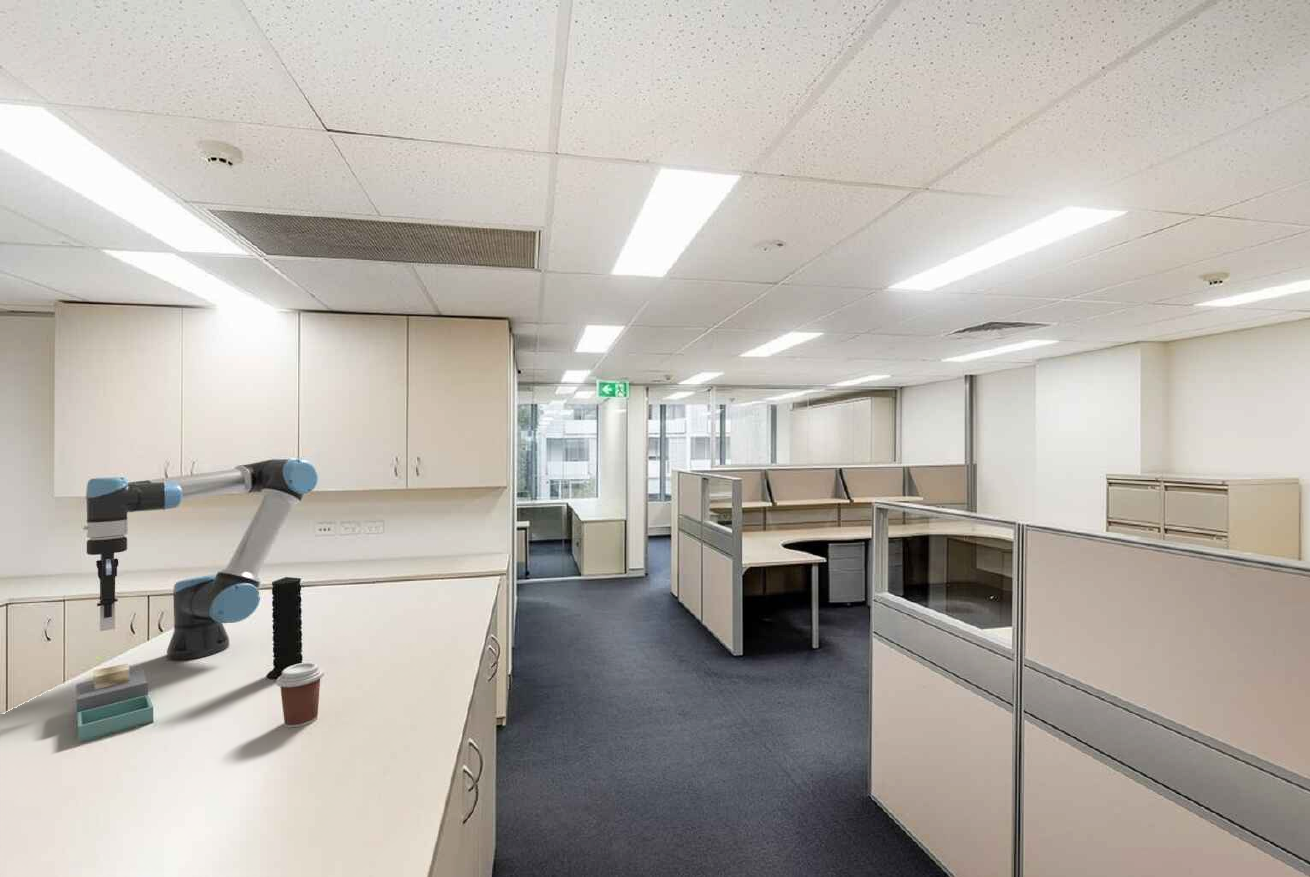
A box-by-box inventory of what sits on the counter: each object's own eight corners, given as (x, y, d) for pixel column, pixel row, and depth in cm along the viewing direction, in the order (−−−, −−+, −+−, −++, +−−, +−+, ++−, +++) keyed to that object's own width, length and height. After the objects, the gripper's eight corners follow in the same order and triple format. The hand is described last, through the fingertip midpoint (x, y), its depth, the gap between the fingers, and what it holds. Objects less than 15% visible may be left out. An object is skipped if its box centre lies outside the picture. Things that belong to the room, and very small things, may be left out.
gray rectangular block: (142, 692, 146) (142, 669, 146) (148, 707, 137) (147, 682, 137) (76, 708, 137) (76, 684, 137) (77, 725, 128) (77, 699, 128)
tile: (127, 675, 142) (127, 663, 142) (129, 681, 138) (129, 669, 138) (94, 682, 138) (93, 670, 138) (95, 689, 134) (94, 676, 134)
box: (148, 709, 136) (148, 694, 136) (153, 722, 129) (153, 707, 129) (77, 728, 127) (77, 712, 127) (78, 743, 120) (78, 726, 121)
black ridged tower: (257, 678, 153) (288, 680, 151) (255, 580, 154) (286, 581, 152) (287, 664, 163) (317, 666, 161) (286, 572, 163) (315, 573, 161)
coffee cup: (333, 714, 131) (332, 662, 131) (297, 733, 122) (296, 678, 122) (304, 709, 134) (303, 658, 134) (267, 727, 125) (266, 673, 125)
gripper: (85, 537, 147) (86, 628, 147) (87, 541, 138) (87, 638, 138) (125, 533, 153) (125, 621, 152) (129, 537, 144) (129, 630, 143)
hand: (107, 629), depth 145 cm, fingers closed
